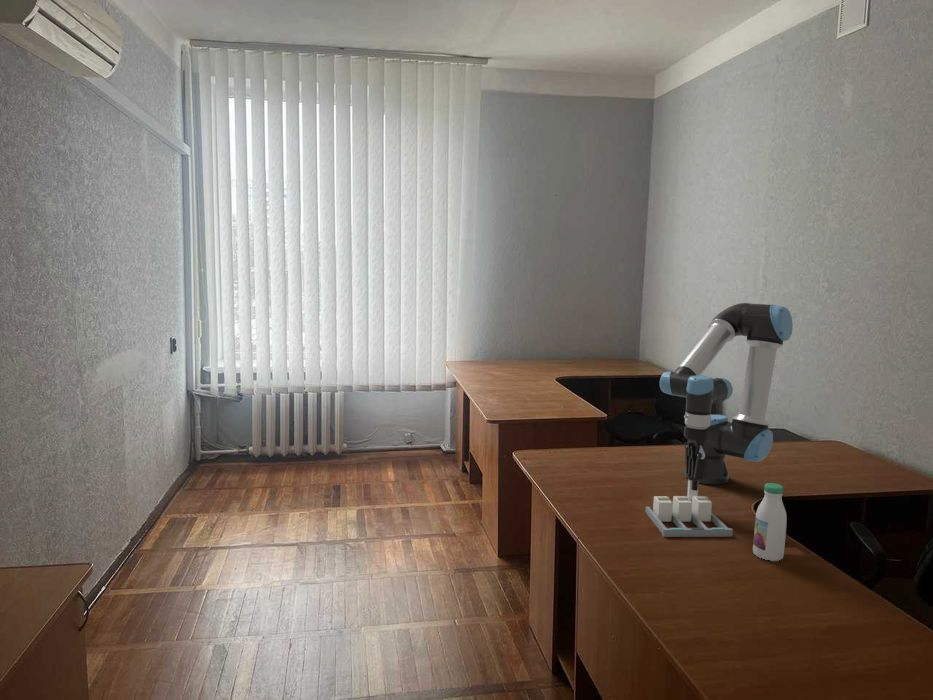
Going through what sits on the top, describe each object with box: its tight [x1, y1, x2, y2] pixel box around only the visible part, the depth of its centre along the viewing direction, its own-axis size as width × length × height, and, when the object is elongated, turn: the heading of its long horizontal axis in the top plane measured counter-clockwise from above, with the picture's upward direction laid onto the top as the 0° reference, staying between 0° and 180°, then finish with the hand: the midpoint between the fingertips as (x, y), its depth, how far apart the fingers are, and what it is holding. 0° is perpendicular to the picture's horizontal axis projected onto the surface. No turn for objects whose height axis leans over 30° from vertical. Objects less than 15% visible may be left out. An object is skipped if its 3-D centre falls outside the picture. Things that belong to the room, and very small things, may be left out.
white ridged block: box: [672, 495, 692, 523], centre depth 202 cm, size 4×5×7 cm
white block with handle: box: [652, 495, 673, 523], centre depth 202 cm, size 4×5×7 cm
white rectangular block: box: [691, 495, 713, 522], centre depth 203 cm, size 4×5×7 cm
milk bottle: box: [752, 482, 788, 562], centre depth 181 cm, size 8×8×20 cm
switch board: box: [645, 506, 734, 538], centre depth 199 cm, size 20×18×4 cm
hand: (692, 498), depth 210 cm, fingers closed
